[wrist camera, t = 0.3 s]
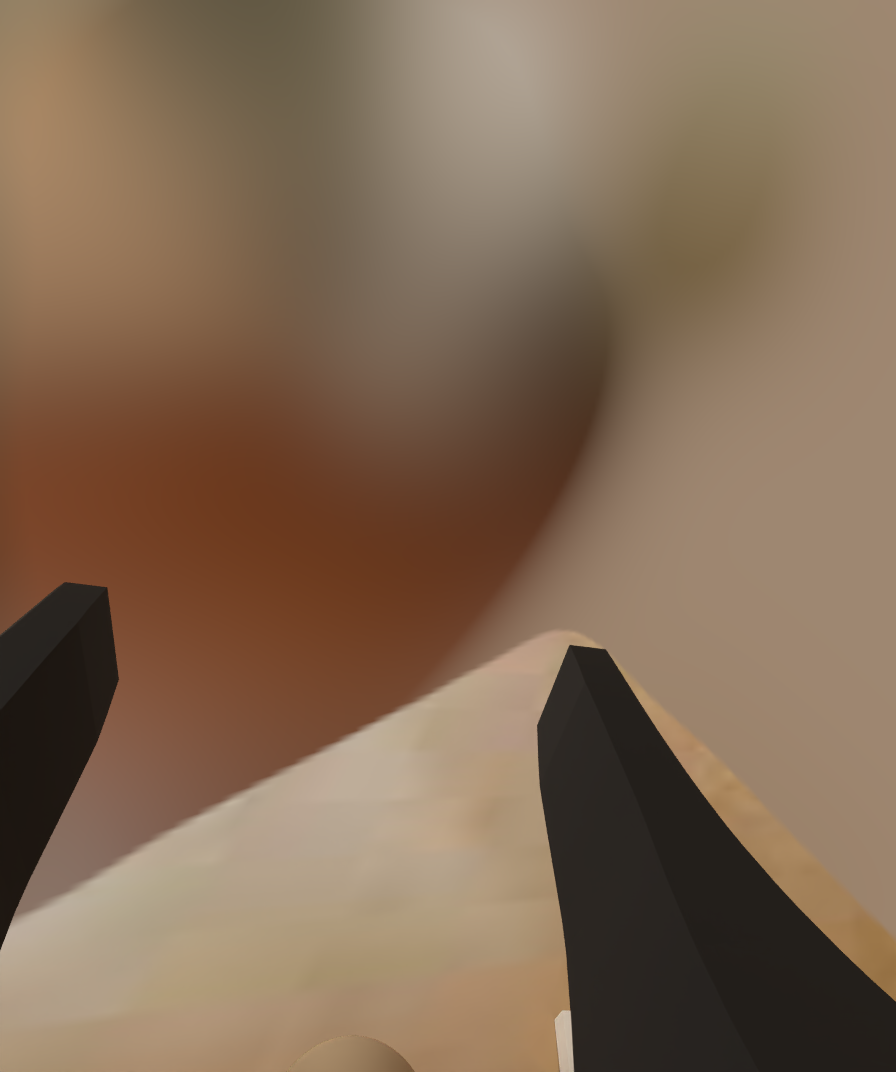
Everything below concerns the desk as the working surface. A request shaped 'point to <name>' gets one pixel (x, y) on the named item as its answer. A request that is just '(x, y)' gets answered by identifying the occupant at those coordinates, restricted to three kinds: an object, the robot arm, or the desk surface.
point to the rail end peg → (351, 1057)
